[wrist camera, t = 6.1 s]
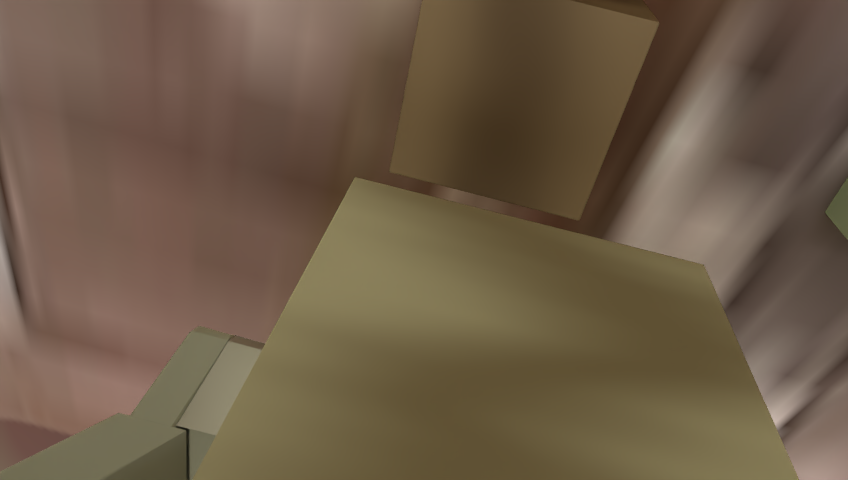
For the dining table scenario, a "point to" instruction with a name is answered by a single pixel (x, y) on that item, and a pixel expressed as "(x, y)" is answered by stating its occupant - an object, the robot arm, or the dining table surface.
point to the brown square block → (519, 96)
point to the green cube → (840, 209)
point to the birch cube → (494, 359)
